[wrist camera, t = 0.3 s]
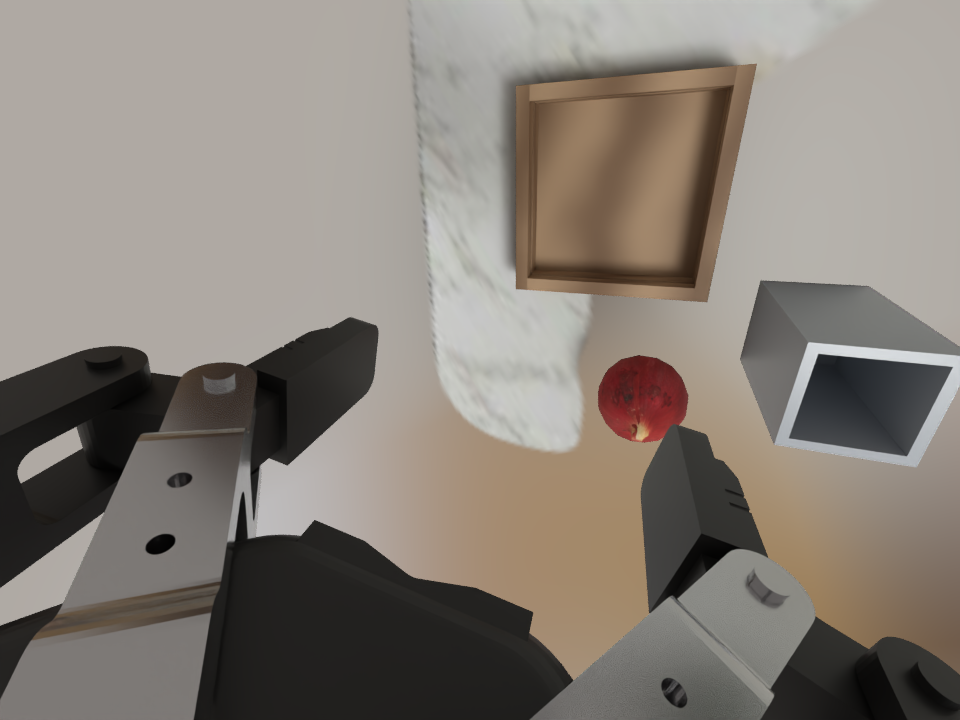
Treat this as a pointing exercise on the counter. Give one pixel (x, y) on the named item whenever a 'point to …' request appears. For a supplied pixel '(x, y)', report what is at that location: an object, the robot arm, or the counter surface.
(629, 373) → the onion
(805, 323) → the gray square holder
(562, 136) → the tray
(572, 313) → the counter surface
